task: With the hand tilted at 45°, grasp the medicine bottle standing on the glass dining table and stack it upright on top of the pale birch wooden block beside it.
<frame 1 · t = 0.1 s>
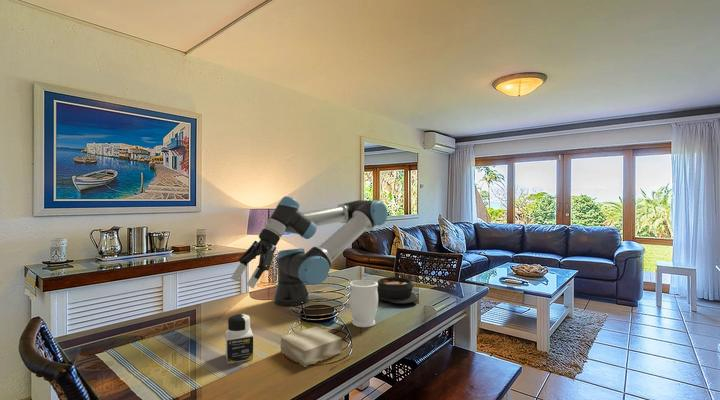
hand: (241, 283, 129), 15 cm above the table, tool tilted 35°, fingers open, 13 cm apart
casserole: (394, 299, 162), on the table
birch block: (311, 354, 107), on the table
medicine bottle: (239, 357, 105), on the table
jar: (363, 324, 131), on the table
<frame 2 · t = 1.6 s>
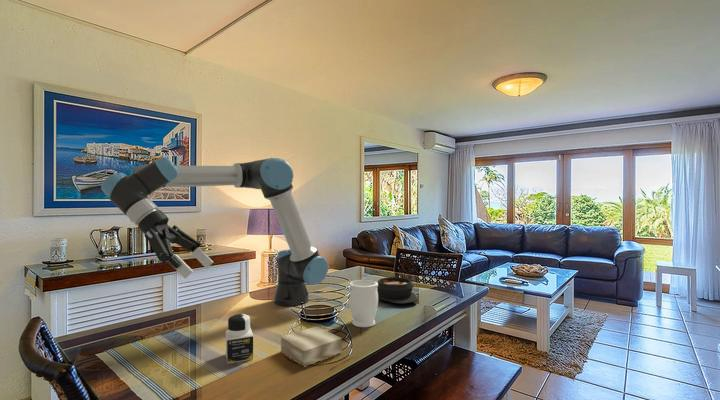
hand: (200, 269, 104), 26 cm above the table, tool tilted 45°, fingers open, 13 cm apart
nothing on the table moved.
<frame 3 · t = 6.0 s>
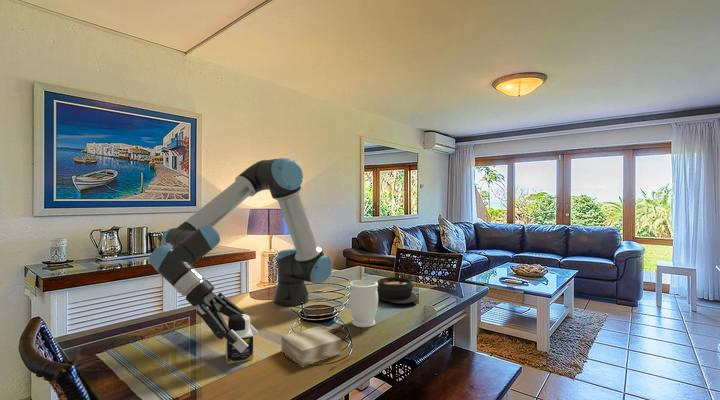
hand: (250, 341, 105), 4 cm above the table, tool tilted 45°, fingers closed on medicine bottle, 9 cm apart
medicine bottle: (239, 357, 105), on the table, touching gripper
everything else where it was.
when the fingers open (11 cm above the table, at t = 12.3 s): medicine bottle drops 2 cm, point 5 cm above the table.
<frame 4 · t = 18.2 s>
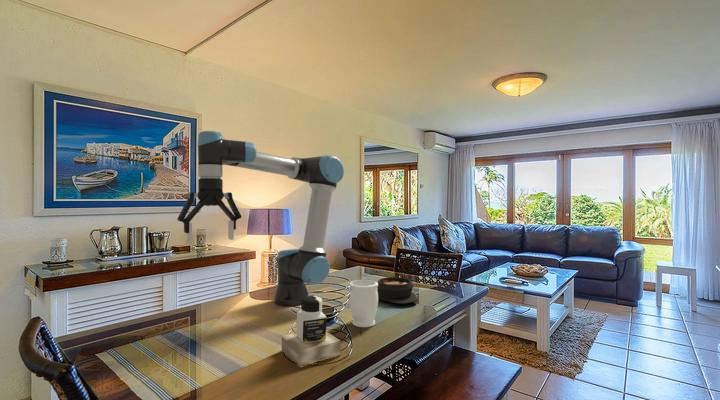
hand: (211, 241, 120), 32 cm above the table, tool pointing down, fingers open, 13 cm apart
medicine bottle: (310, 337, 107), point 5 cm above the table
everything else where it was.
at the end: medicine bottle inside the target area on the birch block (0.4 cm from its centre), point 4.9 cm above the birch block's base; medicine bottle tilted 1°; the gripper is holding nothing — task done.
